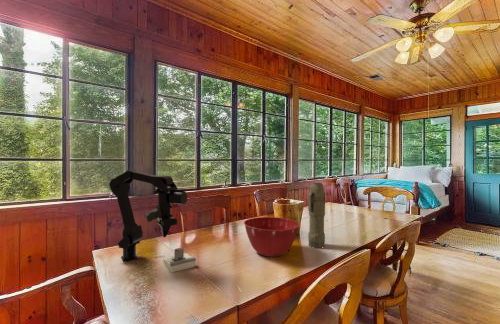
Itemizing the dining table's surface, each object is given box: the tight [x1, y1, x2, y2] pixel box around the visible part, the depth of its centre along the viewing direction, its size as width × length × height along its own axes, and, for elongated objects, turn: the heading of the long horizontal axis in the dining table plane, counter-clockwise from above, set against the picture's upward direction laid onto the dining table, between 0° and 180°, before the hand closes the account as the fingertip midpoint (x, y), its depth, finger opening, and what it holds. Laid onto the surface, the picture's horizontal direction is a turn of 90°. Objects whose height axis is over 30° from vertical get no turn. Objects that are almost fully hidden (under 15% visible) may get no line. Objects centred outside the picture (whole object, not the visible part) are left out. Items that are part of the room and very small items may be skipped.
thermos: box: [307, 182, 326, 249], centre depth 143 cm, size 9×12×35 cm
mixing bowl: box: [243, 216, 300, 258], centre depth 133 cm, size 28×28×16 cm
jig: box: [162, 252, 197, 273], centre depth 116 cm, size 11×11×4 cm
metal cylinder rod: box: [174, 247, 185, 261], centre depth 116 cm, size 4×4×7 cm
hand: (164, 237), depth 118 cm, fingers closed
